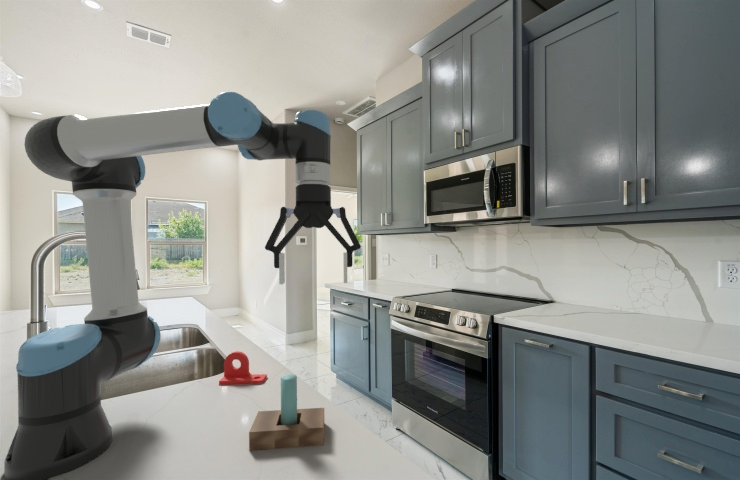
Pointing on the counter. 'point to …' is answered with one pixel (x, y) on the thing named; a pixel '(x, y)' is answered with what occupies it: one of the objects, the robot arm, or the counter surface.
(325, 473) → the counter surface
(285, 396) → the peg
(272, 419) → the hole block
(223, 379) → the bracket
